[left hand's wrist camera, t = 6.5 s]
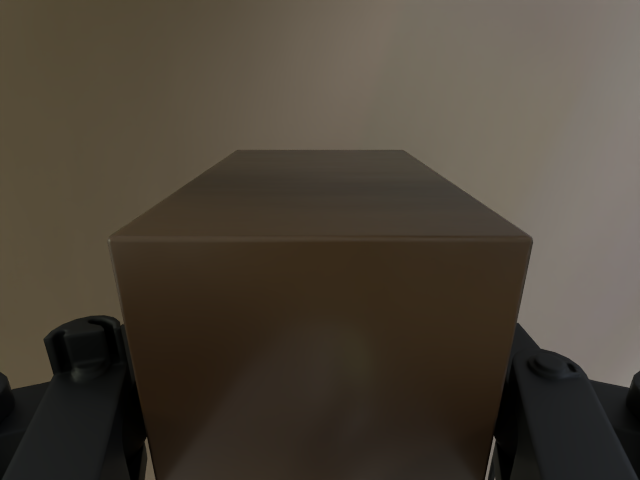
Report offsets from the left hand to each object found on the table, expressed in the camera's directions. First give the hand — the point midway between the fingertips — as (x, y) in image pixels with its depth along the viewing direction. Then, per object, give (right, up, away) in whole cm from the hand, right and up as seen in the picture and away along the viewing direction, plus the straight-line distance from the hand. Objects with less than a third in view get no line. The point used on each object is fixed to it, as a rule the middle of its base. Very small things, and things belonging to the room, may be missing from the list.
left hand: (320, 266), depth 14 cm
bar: (0, -9, +4) cm, 10 cm away
